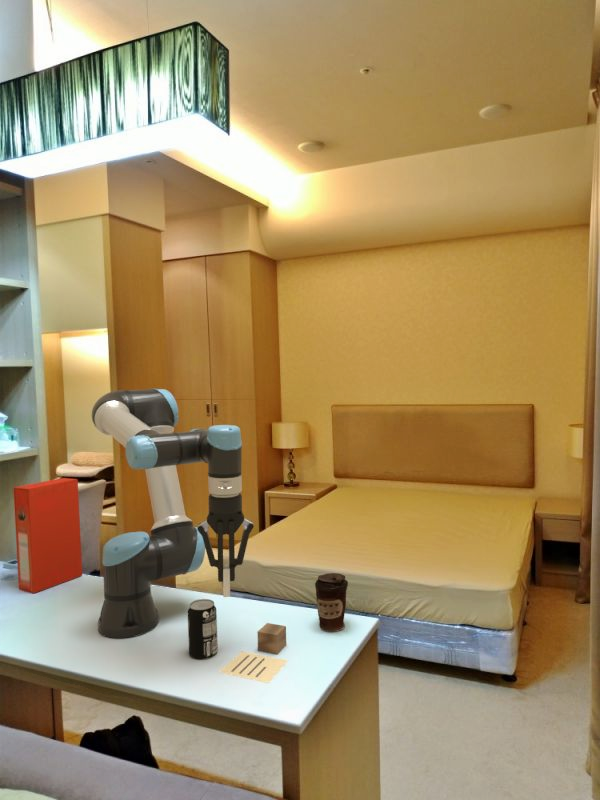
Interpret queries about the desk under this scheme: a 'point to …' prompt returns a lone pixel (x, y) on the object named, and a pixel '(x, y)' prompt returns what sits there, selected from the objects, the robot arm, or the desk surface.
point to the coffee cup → (331, 601)
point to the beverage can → (202, 629)
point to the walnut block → (271, 638)
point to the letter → (254, 666)
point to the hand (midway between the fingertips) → (226, 594)
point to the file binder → (47, 533)
